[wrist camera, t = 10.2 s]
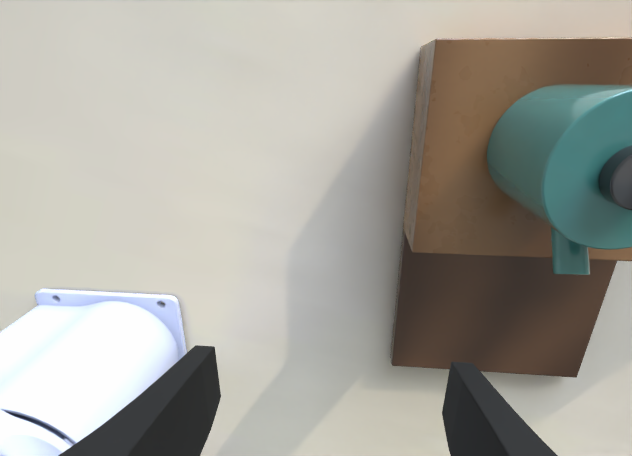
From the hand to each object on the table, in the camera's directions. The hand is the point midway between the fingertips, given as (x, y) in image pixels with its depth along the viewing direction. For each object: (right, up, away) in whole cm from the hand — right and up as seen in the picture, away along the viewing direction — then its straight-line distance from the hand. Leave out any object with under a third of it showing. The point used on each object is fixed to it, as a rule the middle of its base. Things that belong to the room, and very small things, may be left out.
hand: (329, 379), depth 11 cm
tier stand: (+10, +5, +9) cm, 14 cm away
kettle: (+9, +8, +4) cm, 13 cm away
